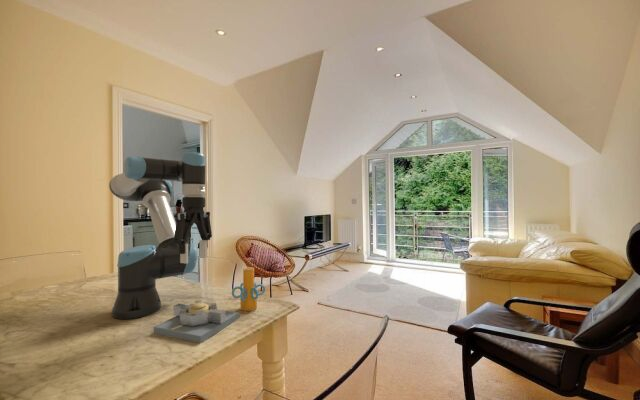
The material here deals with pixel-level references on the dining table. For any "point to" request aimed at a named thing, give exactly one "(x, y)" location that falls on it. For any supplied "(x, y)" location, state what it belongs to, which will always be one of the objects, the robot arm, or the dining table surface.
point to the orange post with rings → (248, 290)
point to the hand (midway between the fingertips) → (194, 260)
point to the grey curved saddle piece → (199, 314)
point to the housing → (194, 332)
